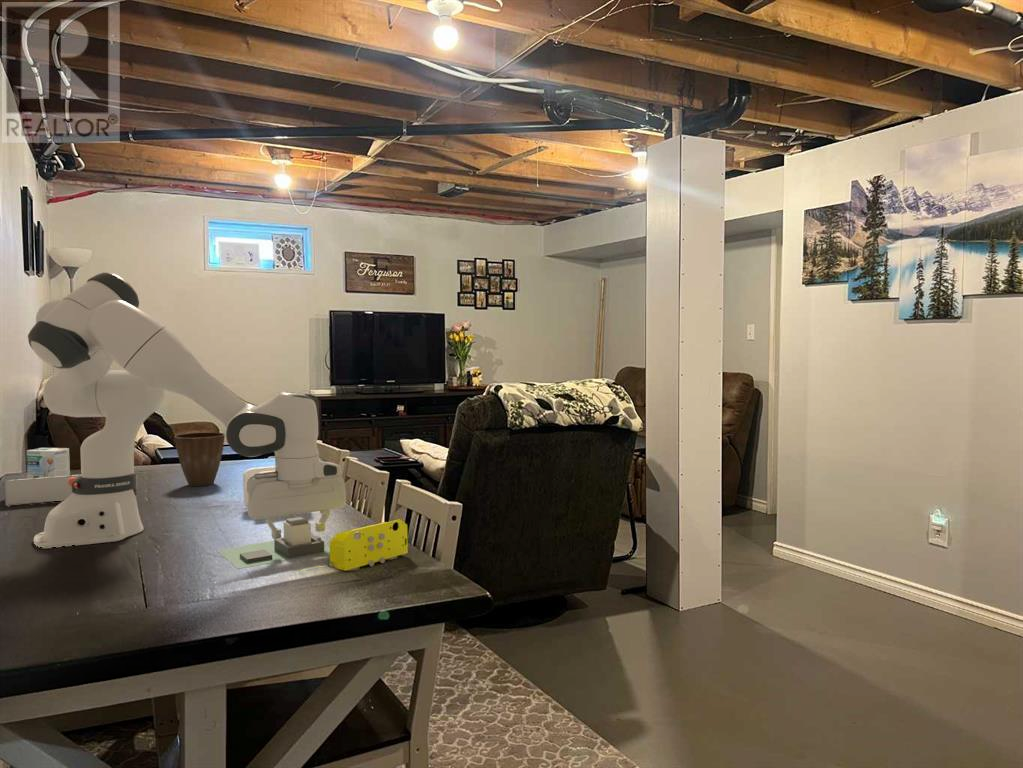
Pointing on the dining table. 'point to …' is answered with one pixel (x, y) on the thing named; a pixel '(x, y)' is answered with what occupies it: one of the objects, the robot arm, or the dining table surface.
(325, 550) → the board
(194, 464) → the plant pot
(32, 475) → the light bulb box
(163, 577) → the dining table surface
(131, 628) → the dining table surface
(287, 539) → the plug
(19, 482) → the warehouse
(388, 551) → the yellow toy chassis
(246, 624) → the dining table surface
